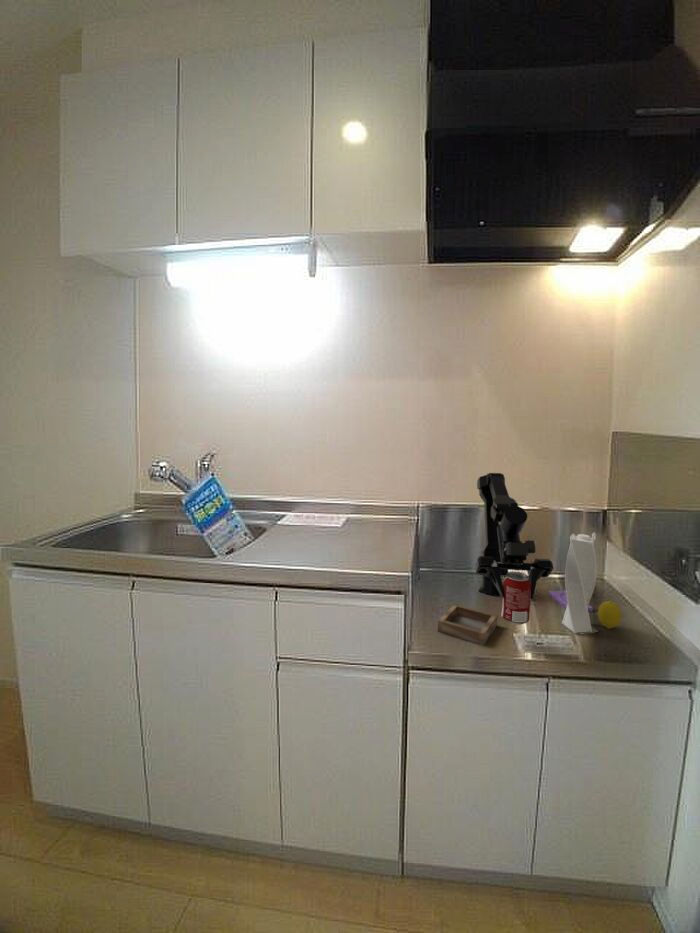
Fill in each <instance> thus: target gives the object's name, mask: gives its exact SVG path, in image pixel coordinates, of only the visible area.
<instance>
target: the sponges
mask: <svg viewBox="0 0 700 933" xmlns="http://www.w3.org/2000/svg"><path fill="white" fill-rule="evenodd" d="M548 595H549V596H550V597H551V599H553V600H555V601H556V602H557V603H559V604H560V605H561V606H562V607H564V608H565V609H566V608H567V604H568V603H567V597H566V590H549V591H548ZM587 607H588V611H589V612H593V607H592V606H591V605H590V604H588V606H587Z"/></svg>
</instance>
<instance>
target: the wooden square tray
mask: <svg viewBox="0 0 700 933" xmlns="http://www.w3.org/2000/svg"><path fill="white" fill-rule="evenodd" d="M497 625H498V614H494V613H490V612H486V611H482V610H479V609H475V608H470V607H467V606H463V605H459V604H455V603H454V604H453V605H452V606H451V607H450V608H448V610H447V611H445V613H444V614H443V615H442V616H441V617H440V618H439V619H438V620H437V632H439V633H441V634H445V635H449V636H451V635H452V637H456V638H458V637H459V639H462V640H465V641H468V642H472V643H475V644H478V645H481V646H484V645H485V644H486V642H487V641H488V639H489V638H490V636H491V635H492V634H493V633H494V630H495V629H496V628H497Z"/></svg>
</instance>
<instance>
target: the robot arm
mask: <svg viewBox="0 0 700 933" xmlns="http://www.w3.org/2000/svg"><path fill="white" fill-rule="evenodd" d="M476 482H477V483H476V489H477V490H478V495H479V497H480V498H481V499H482V501H483V502H484V526H485V528H484V530H485V546H484V547H483V549H482V551H481V552H480V555H479V556H478V557H477V559H476V562H475V573H476V574H478V575H482V582H481V583H482V584H481V586H480V587H479V589H478V592H480V593H483V594H488V595H491V596H496V597H499V596H500V597H501V599H502V598H504V589H503V580H502V576H504V577H506V573H508V572H509V570H510V571H528V576H529V581H530V583H531V597H530V600H533V599H534V596H535V591H536V587H537V583H538V582H537V581H539V580H540V579H541V578H548V577H549V576H550V575H551V573H552V572H553V570H554V564H553V562H552V560H550V559H549V558H535V559H534V561H533V562H525V561H526V560H527V557H528V556H529V554H535V553H536V543H535V540H525V541H524V542H523V541H522V540H521V536H520V533H521V532H522V531H523V529H524V527H525V525H526V521H527V520H528V513H527V512H526V511H525V509H524V508H522V507H521V506H519V504H518V502H517V500H516V499H514V498H512V497H511V496H510V495H509V492H508V489H507V486H506V478H505V476H504V473H501V472H489V473H486V474H485V475H482V476H479V477H478V479H477V480H476Z"/></svg>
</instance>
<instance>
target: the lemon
mask: <svg viewBox="0 0 700 933" xmlns="http://www.w3.org/2000/svg"><path fill="white" fill-rule="evenodd" d="M597 618H598V620H599V622H600V624H602V625H603V626H604V627H606V629H612V628H616V627H617V626H619V625H620V623H621V621H622V611H621V608H620V607H619V605H618V604H617V603H616V602H614V601H613V600H607V601H604V602H602V603H601V604H600V605H599V607H598V610H597Z"/></svg>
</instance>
